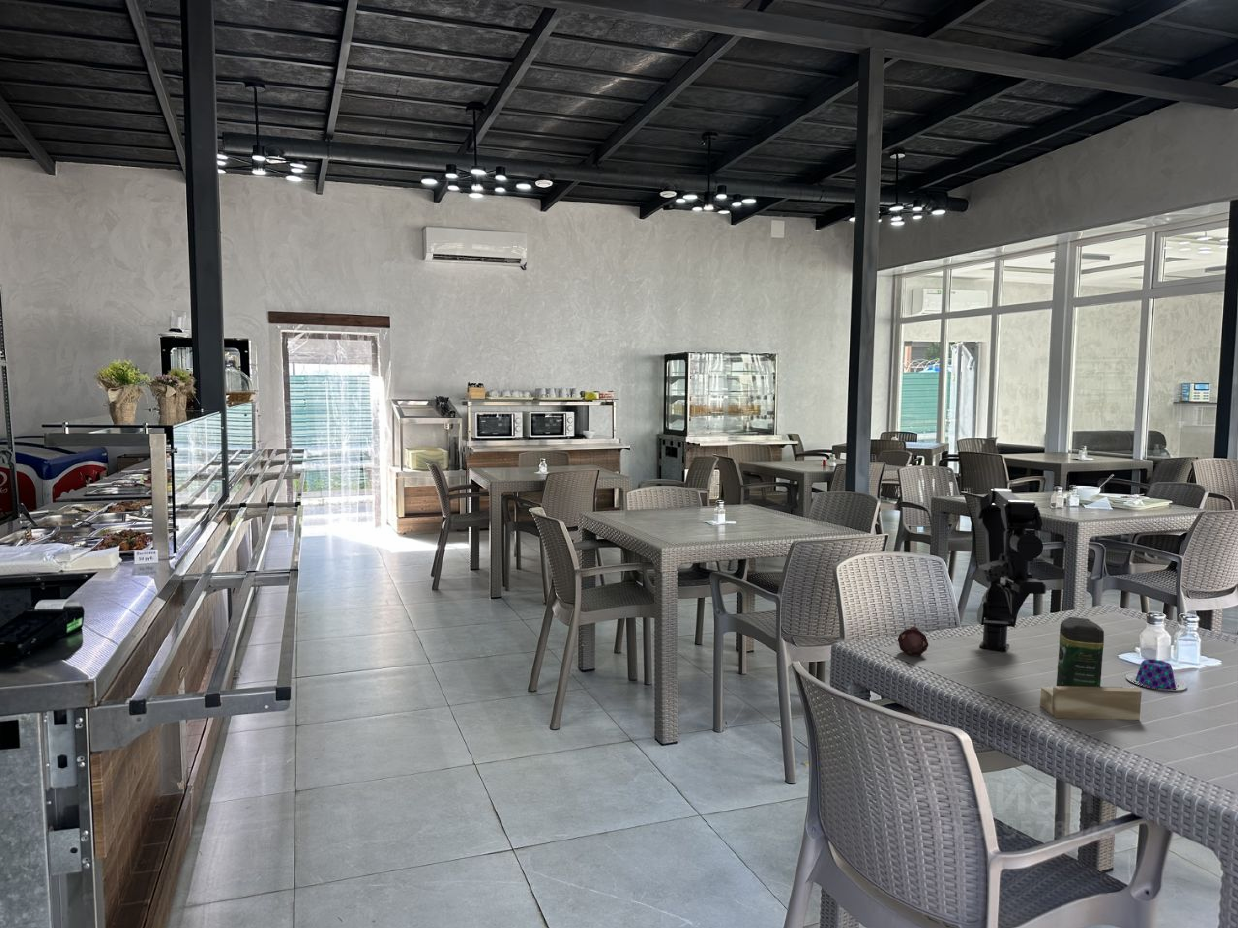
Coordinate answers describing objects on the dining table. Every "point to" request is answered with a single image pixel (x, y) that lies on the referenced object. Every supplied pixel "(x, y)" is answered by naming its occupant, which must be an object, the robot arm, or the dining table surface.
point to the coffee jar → (1080, 653)
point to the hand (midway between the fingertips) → (1013, 614)
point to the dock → (1092, 702)
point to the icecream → (913, 641)
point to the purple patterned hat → (1156, 675)
